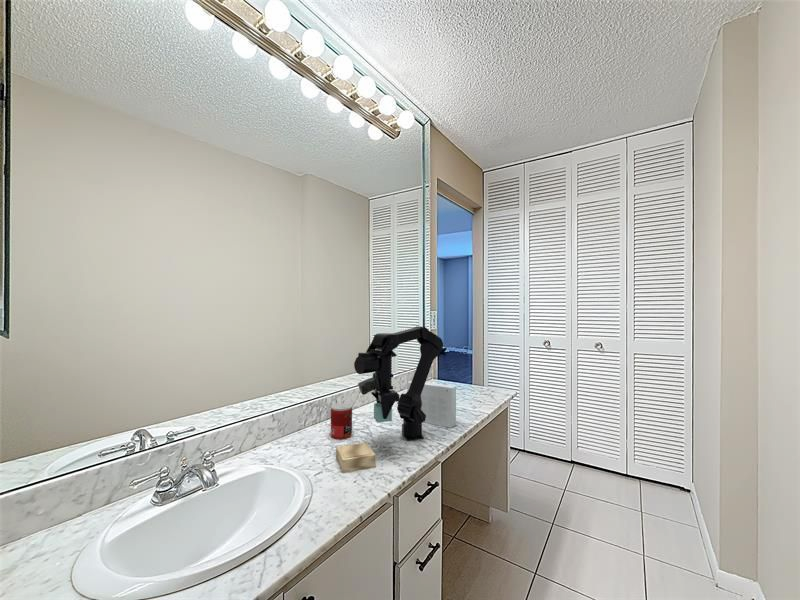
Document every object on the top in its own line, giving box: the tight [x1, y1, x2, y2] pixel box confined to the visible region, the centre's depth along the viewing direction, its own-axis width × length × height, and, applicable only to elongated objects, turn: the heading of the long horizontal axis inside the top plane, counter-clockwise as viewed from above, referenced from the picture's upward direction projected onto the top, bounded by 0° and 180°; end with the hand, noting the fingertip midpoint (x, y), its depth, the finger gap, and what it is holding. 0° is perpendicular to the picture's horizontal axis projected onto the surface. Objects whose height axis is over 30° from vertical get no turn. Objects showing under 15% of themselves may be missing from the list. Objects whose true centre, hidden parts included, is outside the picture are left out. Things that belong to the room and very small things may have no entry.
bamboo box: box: [335, 441, 377, 474], centre depth 103 cm, size 10×10×4 cm
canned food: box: [330, 402, 353, 440], centre depth 125 cm, size 8×8×11 cm
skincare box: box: [406, 380, 457, 429], centre depth 141 cm, size 21×5×16 cm, turn 58°
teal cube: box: [373, 402, 393, 423], centre depth 114 cm, size 5×5×5 cm
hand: (382, 416), depth 114 cm, fingers closed on teal cube, 5 cm apart
